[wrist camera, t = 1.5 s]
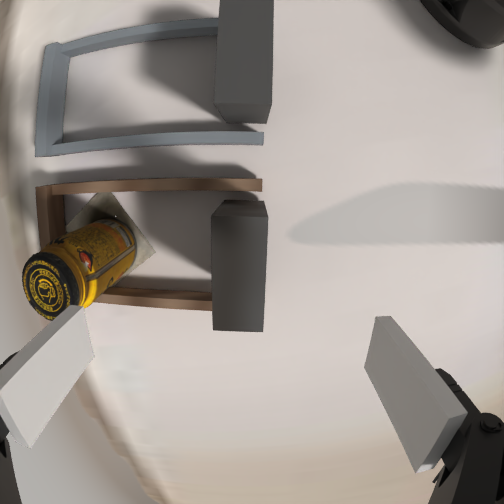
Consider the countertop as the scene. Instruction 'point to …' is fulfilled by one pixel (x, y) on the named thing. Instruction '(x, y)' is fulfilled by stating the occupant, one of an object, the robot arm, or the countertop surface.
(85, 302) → the condiment
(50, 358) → the robot arm
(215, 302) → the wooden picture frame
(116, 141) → the grey frame
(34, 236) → the countertop surface
